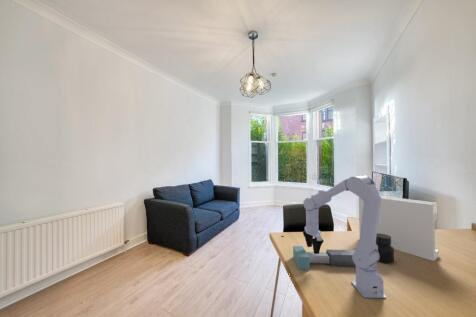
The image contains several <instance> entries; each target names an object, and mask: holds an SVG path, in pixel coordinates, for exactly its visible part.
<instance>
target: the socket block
mask: <svg viewBox="0 0 476 317" xmlns="http://www.w3.org/2000/svg"><path fill="white" fill-rule="evenodd" d="M306 252H307V251H306V250H305V247H304V246H303V245H293V246H292V254H293V255H292V256H293V257H292V258H293V259H294V262H295V264H296V266H297V268H298V269H299V271H300V270H302V271H303V270H310V264H311V263H310V262H309V256H308V254H307V253H306ZM310 271H311V270H310Z"/></svg>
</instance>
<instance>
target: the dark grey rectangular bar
mask: <svg viewBox="0 0 476 317" xmlns="http://www.w3.org/2000/svg"><path fill="white" fill-rule="evenodd" d="M354 251H355V249H326V252H328V253H329V254H330V263H328V265H329V266H330V267H334V268H336V267H337V268H355V263H354V262H353V259H352V254H353V253H354Z"/></svg>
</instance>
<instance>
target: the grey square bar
mask: <svg viewBox="0 0 476 317" xmlns="http://www.w3.org/2000/svg"><path fill="white" fill-rule="evenodd" d="M306 253H307V254H308V256H309V262H310V264H329V263H330V254H329V253H328V252H321V251H319V254H314V251H313V252H311V251H306Z"/></svg>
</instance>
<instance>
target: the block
mask: <svg viewBox="0 0 476 317" xmlns="http://www.w3.org/2000/svg"><path fill="white" fill-rule="evenodd" d="M380 197H381V204H380V212H379V220H378V228H377V234H385V235H388V236H390V237H391V246H392V247H393V248H394V250H396V251H399V252H403V253H407V254H410V255H413V256H416V257H419V258H423V259H425V260H428V261H433V262H435V261H436V260H437V259H438V258H439V252H440V251H439V249H436V224H435V223H436V221H438V219H439V218H438V216H439V214H438V202H435V201H434V202H433V201H432V202H431V201H425V200H419V199H408V198H401V197H391V196H384V195H380ZM363 206H364V201H363V200H362V199H361V198H360V197H359V196H358V212H359V213H358V218H359V219H358V220H359V225H358V227H359V228H358V230H359V231H358V232H359V233H360V231H361V223H362V215H363Z"/></svg>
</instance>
